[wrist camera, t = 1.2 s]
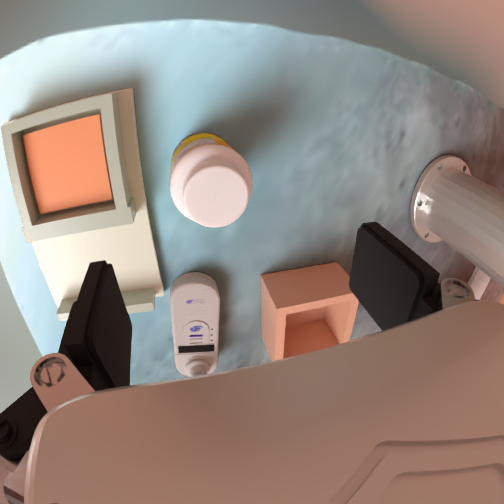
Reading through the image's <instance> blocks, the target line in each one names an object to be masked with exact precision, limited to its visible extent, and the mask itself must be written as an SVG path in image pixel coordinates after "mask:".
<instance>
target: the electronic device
mask: <svg viewBox="0 0 504 504" xmlns="http://www.w3.org/2000/svg"><path fill="white" fill-rule="evenodd" d="M170 307H171V320H172V331H173V342H174V352H175V362H176V367H177V369H178V371H179V372H181V373H182V374H183V375H186V376H188V377H193V376H199V375H205V374H210V373H212V372H213V371H214V370H215V369H216V367H217V364H218V343H219V316H220V296H219V292H218V288H217V284H216V282H215V281H214V280H213V279H212V278H211V277H210V276H209V275H207V274H204V273H200V272H190V273H186V274H183V275H181V276H179V277H177V279H176V280H175V281H174V282H173V283H172V286H171V289H170Z"/></svg>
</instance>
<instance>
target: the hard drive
mask: <svg viewBox="0 0 504 504" xmlns="http://www.w3.org/2000/svg"><path fill="white" fill-rule="evenodd" d="M490 279H491V278H490V277H489V276H487V275H486V274H485V273H484V272H483V271H481V270H480V269H479V268H478V267H477V266H476V267H475V269H474V271H473V274H472V276H471V278H470V280H469V282H468V285H469V286H470V287H471V288H472V290H473V292H474V296H475V299H476V300H479V299H480V298H481V296H482V294H483V292H484V290H485V288H486V286H487V285H488V283H489V281H490Z"/></svg>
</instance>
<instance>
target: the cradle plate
mask: <svg viewBox="0 0 504 504" xmlns="http://www.w3.org/2000/svg"><path fill="white" fill-rule="evenodd" d="M23 138H24V144H25V150H26V156H27V161H28V166H29V171H30V175H31V180H32V184H33V189H34V193H35V197H36V201H37V204H38V208H39V212H40V214H42V213H47V212H51V211H56V210H61V209H65V208H70V207H75V206H80V205H85V204H90V203H96V202H101V201H106V200H112V199H113V197H114V196H113V191H112V185H111V180H110V174H109V168H108V162H107V156H106V149H105V142H104V134H103V126H102V118H101V114H97V115H93V116H88V117H84V118H80V119H76V120H72V121H68V122H65V123H61V124H57V125H54V126H51V127H47V128H44V129H41V130H37V131H34V132H31V133H28V134H25V135H23Z"/></svg>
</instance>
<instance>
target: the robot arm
mask: <svg viewBox="0 0 504 504" xmlns="http://www.w3.org/2000/svg"><path fill="white" fill-rule="evenodd" d="M410 217H411V223H412V227H413V229H414V231H415V233H416V234H417V235H418V236H419V237H420V238H422V239H423V240H424V241H427V242H431V243H435V242H440V241H442V240H443V241H445V242H446V243H447V244H449V245H450V246H451V247H452V248H454V249H455V250H456V251H458V252H459V253H460V254H462V255H463V256H464V257H465V258H467V259H468V260H469V261H470V262H472V263H473V264H474V265H475V266H477V267H478V268H479V269H480V270H481V271H483V272H484V273H485V274H486V275H487V276H489V277H490V278H491V279H492V280H493V281H494V282H496V283H497V284H498V285H499V286H500V287H501V288H503V289H504V192H502V191H500V190H498V189H496V188H495V187H493V186H491V185H489V184H487V183H485V182H483V181H481V180H479V179H477V178H475V177H473V176H471V172H470V169H469V168H468V166H467V164H466V163H465V162H464V161H463V160H462V159H460V158H458V157H455V156H453V155H444V156H441V157H439V158H437V159H435V160H434V161H433V162H431V163H430V164H429V165H428V166H427V168H426V169H425V170H424V171H423V173H422V174H421V176H420V178H419V180H418V182H417V184H416V186H415V189H414V192H413V195H412V200H411V207H410ZM439 275H440V274H439V273H438V272H437V271H436V270H435V269H434V268H433V267H431V266H430V265H429V264H428V263H427V262H426V261H424V260H423V259H422V258H421V257H420V256H418V255H417V254H416V253H415V252H414V251H412V250H411V249H410V248H409V247H408V246H406V245H405V244H404V243H403V242H401V241H400V240H399V239H398V238H396V237H395V236H394V235H393V234H391V233H390V232H389V231H388V230H386V229H385V228H384V227H382V226H381V225H380V224H378V223H377V222H370V223H363V224H362V225H361V227H360V228H359V229H358V231H357V238H356V245H355V251H354V257H353V263H352V269H351V274H350V280H349V287H350V290H351V292H352V293H353V294H354V295H355V297H356V298H357V299H358V300H359V302H360V303H361V304H362V305H363V307H364V308H365V309H366V310H367V312H368V313H369V314H370V316H371V317H372V318H373V319H374V321H375V322H376V323H377V325H378V326H379V327H380V328H381V330H382V331H380V332H377V333H374V334H371V335H368V336H364V337H361V338H358V339H355V340H351V341H348V342H345V343H341V344H338V345H334V346H330V347H327V348H323V349H320V350H316V351H312V352H308V353H304V354H300V355H296V356H292V357H288V358H284V359H280V360H275V361H271V362H266V363H262V364H257V365H253V366H248V367H243V368H238V369H233V370H228V371H222V372H217V373H211V374H205V375H199V376H193V377H187V378H180V379H173V380H166V381H159V382H152V383H145V384H138V385H131V386H130V358H131V340H132V324H131V320H130V317H129V315H128V312H127V309H126V306H125V303H124V300H123V297H122V294H121V291H120V288H119V285H118V282H117V278H116V275H115V272H114V269H113V266H112V264H111V263H110V264H107V262H106V261H105V260H103V261H96V262H91V263H90V264H89V267H88V269H87V272H86V275H85V278H84V280H83V283H82V286H81V289H80V292H79V295H78V298H77V301H75V302H73V304H72V307H71V310H70V313H69V317H68V320H67V323H66V326H65V330H64V333H63V337H62V340H61V344H60V348H59V351H58V353H51V354H48V355H45V356H44V357H42V358H40V359H39V360H38V361H37V362H36V363H35V365H34V366H33V367H32V370H31V373H30V381H31V383H32V386H33V387H32V388H30V389H29V390H28V391H27V392H26V393H24V394H23V395H22V396H21V397H20V398H18V399H17V400H16V401H15V402H14V403H13V404H11V405H10V406H9V407H8V408H6V410H4V411H3V412H2V413H1V414H0V504H504V305H503V304H501V303H499V302H494V301H480V300H476V299H475V296H474V292H473V290H472V288H471V287H470V286H469V285H468V284H467V283H465V282H464V281H462V280H459V279H456V278H445V279H443V280H442V281H441V284H439V283H438V282H437V281H438V278H439Z"/></svg>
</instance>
